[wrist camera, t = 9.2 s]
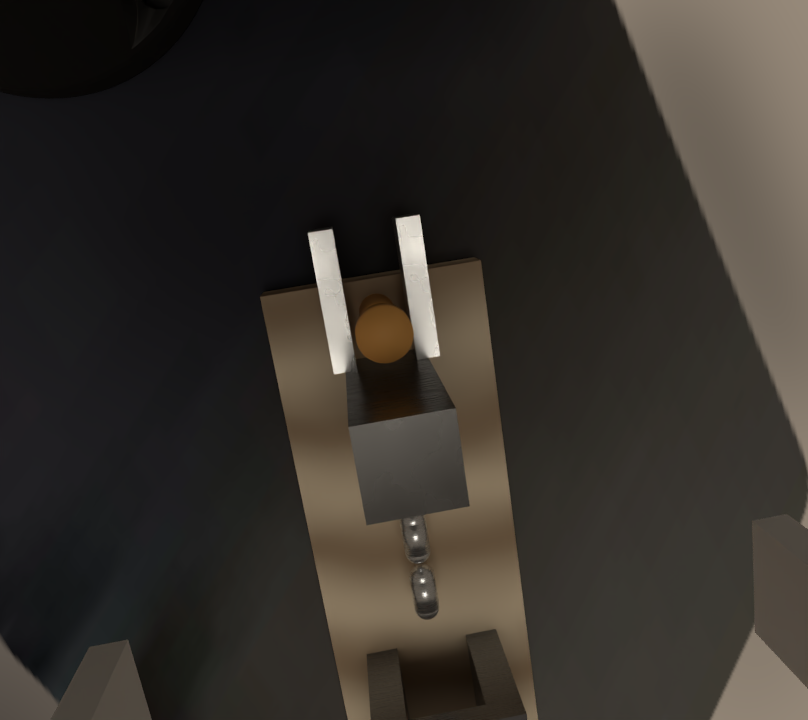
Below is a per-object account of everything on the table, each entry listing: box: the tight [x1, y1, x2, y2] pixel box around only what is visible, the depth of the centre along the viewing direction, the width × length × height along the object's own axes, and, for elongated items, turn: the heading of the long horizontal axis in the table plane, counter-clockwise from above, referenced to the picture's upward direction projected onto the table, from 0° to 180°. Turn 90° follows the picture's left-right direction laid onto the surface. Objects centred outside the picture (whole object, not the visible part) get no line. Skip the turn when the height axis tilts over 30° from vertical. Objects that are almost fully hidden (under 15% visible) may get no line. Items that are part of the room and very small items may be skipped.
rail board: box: [260, 257, 538, 720], centre depth 35 cm, size 26×10×2 cm, turn 9°
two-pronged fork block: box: [308, 213, 470, 620], centre depth 28 cm, size 19×5×9 cm, turn 9°
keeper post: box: [355, 294, 414, 363], centre depth 29 cm, size 2×2×5 cm
